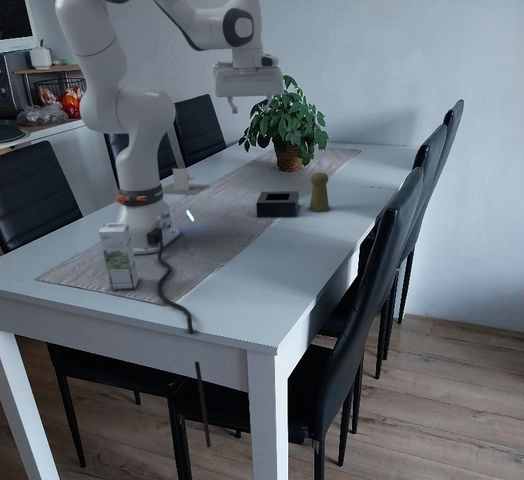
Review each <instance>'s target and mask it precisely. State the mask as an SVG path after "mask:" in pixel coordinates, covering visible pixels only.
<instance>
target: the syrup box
mask: <svg viewBox="0 0 524 480" xmlns="http://www.w3.org/2000/svg"><path fill="white" fill-rule="evenodd" d="M98 235H99V240H100V244H101V248H102V252H103V259H104V263H105V267H106V272H107V275H108V280H109V284H110V289H111V291H119V290H120V291H121V290H134V289H136V287H137V284H138V282H139V273H138V268H137V264H136V259H135V254H134V253H133V247H132V241H131V236H130V230H129V225H128V223H116V222H114V223H103V224H102V225H101V227H100V229H99V231H98Z"/></svg>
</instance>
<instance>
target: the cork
mask: <svg viewBox="0 0 524 480" xmlns="http://www.w3.org/2000/svg"><path fill="white" fill-rule="evenodd" d="M310 177H311V178H310V182H311V185H312V189H311V198H310V205H309V210H310V211H311V212H314V213H323V212H327V211H329V210H330V205H329V196H328V188H327V184H328V182H329V176H328V174H327V173H325V172H315V173H312V175H311V176H310Z"/></svg>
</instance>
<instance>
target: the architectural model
mask: <svg viewBox="0 0 524 480" xmlns="http://www.w3.org/2000/svg"><path fill="white" fill-rule="evenodd" d="M172 175H173V182H174V183H171V184H169V185H168V186H166V187H164V188H163V194H181V195H196V194H198V193H199V192H201V191H203V190H204V189H205V188H206V187H207V188H208V185H203V184H202V185H200V184H189V181H190V182H192V181H193V180H195V179H196V177H192V176H190V175H189V173H188V169H187V168H184V167H182V168H172Z"/></svg>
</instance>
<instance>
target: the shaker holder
mask: <svg viewBox="0 0 524 480" xmlns="http://www.w3.org/2000/svg"><path fill="white" fill-rule="evenodd" d="M299 196H300V195H299V190H283V191H279V190H277V191H273V190H272V191H261V192H260V194H259V195H258V198H257V201H256V202H255V204H256V205H255V206H256V208H255V209H256V218H296V217H297V214H298V210H299V205H300V204H299V203H300V202H299V201H300V198H299Z"/></svg>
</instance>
